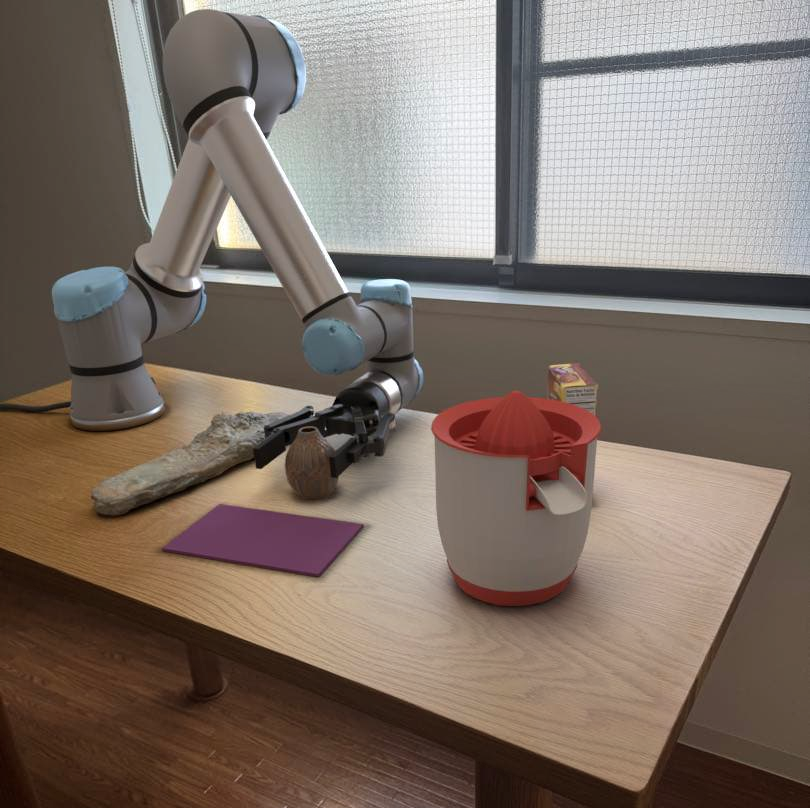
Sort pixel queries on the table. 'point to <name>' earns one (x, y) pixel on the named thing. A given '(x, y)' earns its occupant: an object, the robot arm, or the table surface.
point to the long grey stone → (185, 463)
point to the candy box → (572, 386)
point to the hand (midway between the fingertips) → (294, 463)
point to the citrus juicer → (514, 494)
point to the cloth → (266, 539)
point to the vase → (310, 464)
